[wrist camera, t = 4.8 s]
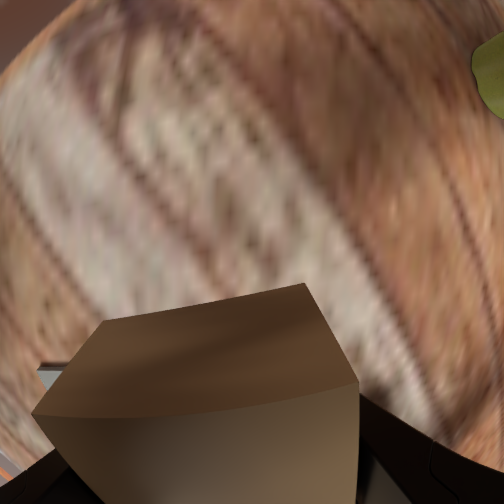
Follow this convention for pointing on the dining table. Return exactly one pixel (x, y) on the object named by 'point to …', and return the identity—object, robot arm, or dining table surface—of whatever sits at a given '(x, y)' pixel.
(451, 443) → the dining table surface
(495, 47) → the plant pot
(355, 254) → the dining table surface
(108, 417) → the walnut block
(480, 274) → the dining table surface
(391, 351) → the dining table surface
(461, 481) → the robot arm
